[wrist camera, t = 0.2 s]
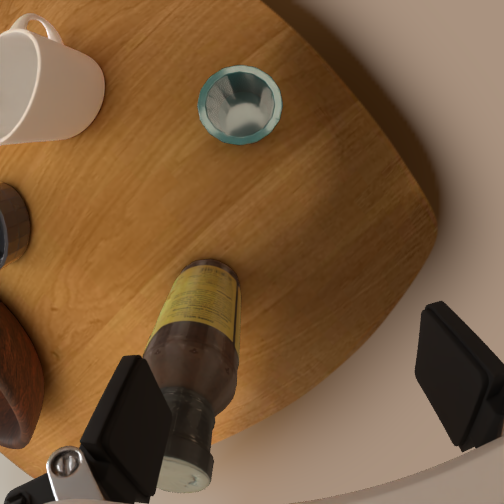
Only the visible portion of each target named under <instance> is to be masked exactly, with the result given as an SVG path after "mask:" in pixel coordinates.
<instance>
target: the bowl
mask: <svg viewBox="0 0 504 504" xmlns="http://www.w3.org/2000/svg"><path fill="white" fill-rule="evenodd" d="M29 234H30V220H29V215H28V211H27V208H26V205H25V203H24V201H23V199H22V198H21V196H20V195H19V194H18V193H17V192H16V190H15V189H14V188H13V187H11V186H9V185H7V184H5V183H0V270H1V269H3V268H4V267H6V266H7V265H9V264H11V263H12V262H14V261H15V260H17V259H18V258H19V257H20V256H21V255H22V254H23V253H24V252H25V250H26V247H27V245H28V240H29Z"/></svg>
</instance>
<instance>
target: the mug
mask: <svg viewBox="0 0 504 504" xmlns="http://www.w3.org/2000/svg"><path fill="white" fill-rule="evenodd" d="M30 20H38V21H40V22H41V23H42V24H43V25H44V27H45V28H46V31H47V34H48V38H46V37H44V36H41V35H39V34H36V33H33V32H31V31H28V30H26V28H27V23H28V22H29V21H30ZM104 91H105V82H104V76H103V73H102V70H101V68H100V67H99V65H98V64H97V63H96V62H95V61H94V60H93V59H92V58H91V57H89V56H87V55H85V54H83V53H81V52H79V51H77V50H75V49H72V48H70V47H68V46H65V45H64V44H63V41H62V39H61V37H60V35H59V33H58V32H57V30H56V29H55V28H54V27H53V25H51V24H50V23H49V22H48V21H47V20H46V19H44V18H43V17H41V16H39V15H37V14H33V13H28V14H25V15H23V16H21V17H20V18H18V19H17V20H16V21H15V22H14V24H13V25H12V27H11V28H10V30H8V31H5V32H3V33H2V34H0V145H8V144H17V143H28V142H41V141H55V140H64V139H68V138H71V137H73V136H76V135H78V134H79V133H81V132H82V131H84V130H85V129H86V128H87V127H88V126H89V125H90V124H91V123H92V121H93V120H94V119H95V117H96V115H97V114H98V112H99V110H100V107H101V105H102V102H103V98H104Z"/></svg>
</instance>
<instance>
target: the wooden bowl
mask: <svg viewBox="0 0 504 504" xmlns="http://www.w3.org/2000/svg"><path fill="white" fill-rule="evenodd" d="M43 399H44V377H43V371H42V367H41V364H40V361H39V358H38V355H37V353H36V351H35V348H34V346H33V344H32V342H31V341H30V339H29V337H28V335H27V334H26V332H25V330H24V329H23V328H22V326H21V325H20V323H19V322H18V321H17V319H16V318H15V317H14V315H13V314H12V313H11V312H10V311H9V310H8V308H7V307H6V306H5V305H4V304H3V303H2V302H1V301H0V445H1V446H3V447H7V448H11V449H22V448H24V447H25V446H26V445H27V444H28V443H29V442H30V440H31V438H32V435H33V433H34V430H35V427H36V425H37V422H38V419H39V416H40V413H41V409H42V405H43Z"/></svg>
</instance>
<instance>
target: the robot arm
mask: <svg viewBox="0 0 504 504" xmlns="http://www.w3.org/2000/svg"><path fill="white" fill-rule="evenodd" d="M415 376H416V379H417V381H418V383H419V384H420V386H421V388H422V389H423V391H424V393H425V394H426V396H427V398H428V400H429V401H430V403H431V405H432V407H433V408H434V410H435V412H436V414H437V415H438V417H439V419H440V421H441V423H442V424H443V426H444V428H445V430H446V432H447V433H448V435H449V437H450V439H451V441H452V443H453V444H454V445H455V446H459V447H460V449H461V451H462V452H464V451H466V450H468V449H471V448H472V447H475V448H476V449H474V450H472V451H470V452H468V453H466V454H464V455H461V456H459V457H457V458H454V459H452V460H449V461H447V462H444V463H442V464H440V465H437V466H435V467H432V468H430V469H427V470H425V471H421V472H419V473H416V474H413V475H410V476H407V477H404V478H401V479H398V480H395V481H392V482H389V483H386V484H382V485H378V486H375V487H371V488H367V489H363V490H359V491H355V492H351V493H347V494H342V495H338V496H333V497H328V498H323V499H317V500H311V501H305V502H298V503H291V504H504V364H503V363H502V362H501V361H500V359H499V358H498V357H497V356H496V355H495V354H494V353H493V352H492V351H491V350H490V349H489V347H488V346H487V345H486V344H485V343H484V342H483V341H482V340H481V339H480V338H479V337H478V336H477V335H476V334H475V333H474V332H473V331H472V330H471V329H470V328H469V327H468V326H467V325H466V324H465V323H464V322H463V321H462V320H461V319H460V318H459V317H458V316H457V315H456V314H455V313H454V312H453V311H452V310H451V309H450V308H449V307H448V306H447V305H446V304H445V303H444V302H443V301H439V302H435V303H432V304H428V305H426V307H425V310H423V311H422V313H421V322H420V333H419V342H418V350H417V358H416V365H415ZM172 420H173V417H172V412H171V410H170V408H169V406H168V404H167V402H166V400H165V398H164V396H163V394H162V392H161V390H160V388H159V386H158V383H157V381H156V379H155V377H154V375H153V373H152V371H151V368H150V366H149V364H148V362H147V360H146V359H142V357H141V356H140V355H130V356H123V357H122V359H121V361H120V363H119V364H118V366H117V368H116V370H115V372H114V374H113V376H112V378H111V380H110V382H109V383H108V385H107V387H106V389H105V391H104V393H103V395H102V397H101V399H100V401H99V403H98V405H97V407H96V409H95V411H94V413H93V415H92V417H91V419H90V421H89V423H88V425H87V427H86V429H85V431H84V433H83V436H82V438H81V440H80V443H81V445H80V447H79V448H77V447H74V446H65V447H61V448H59V449H58V450H56V451H54V452H53V453H52V454H51V456H50V457H49V459H48V461H47V465H46V467H47V473H46V474H44V475H42V476H40V477H38V478H36V479H33V480H31V481H29V482H27V483H25V484H23V485H21V486H19V487H17V488H15V489H13V490H12V491H10V492H9V493H8V495H7V497H6V498H5V501H4V504H134V502H139V503H148V504H149V500H150V496H153V495H154V494H155V491H156V487H157V483H158V479H159V474H160V470H161V466H162V461H163V457H164V453H165V449H166V445H167V441H168V437H169V433H170V429H171V425H172Z"/></svg>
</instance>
